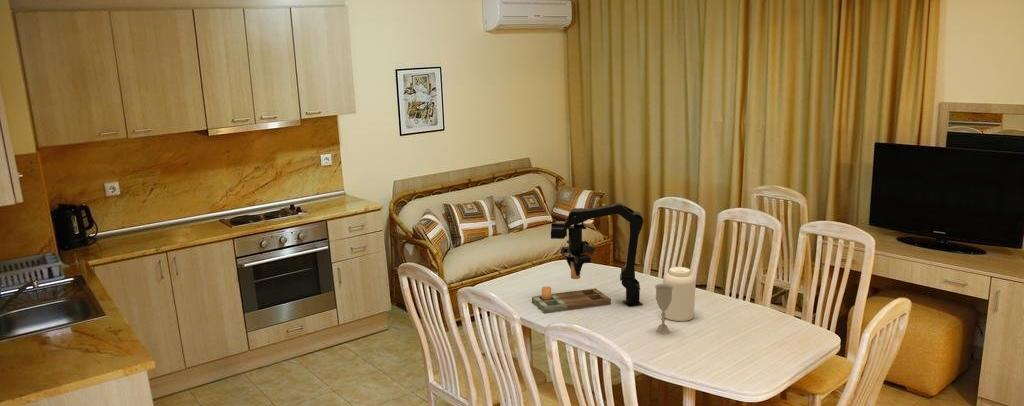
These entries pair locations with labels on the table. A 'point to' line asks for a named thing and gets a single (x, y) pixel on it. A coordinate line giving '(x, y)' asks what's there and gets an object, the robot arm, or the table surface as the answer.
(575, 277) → the orange pin
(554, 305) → the pin board
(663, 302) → the chalice
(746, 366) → the table surface
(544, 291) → the model pin
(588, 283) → the table surface
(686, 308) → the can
